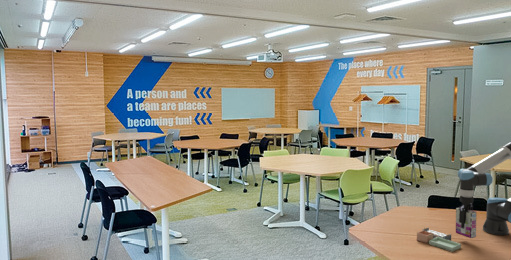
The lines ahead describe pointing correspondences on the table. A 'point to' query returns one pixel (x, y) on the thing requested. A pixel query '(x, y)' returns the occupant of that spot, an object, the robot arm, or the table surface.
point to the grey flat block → (437, 234)
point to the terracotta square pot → (424, 236)
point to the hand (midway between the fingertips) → (465, 231)
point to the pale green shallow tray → (445, 244)
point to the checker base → (436, 236)
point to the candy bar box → (467, 223)
